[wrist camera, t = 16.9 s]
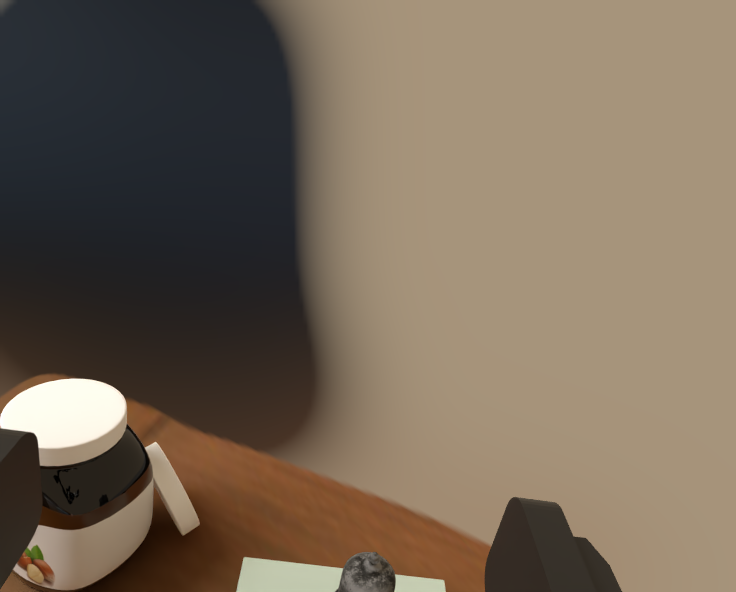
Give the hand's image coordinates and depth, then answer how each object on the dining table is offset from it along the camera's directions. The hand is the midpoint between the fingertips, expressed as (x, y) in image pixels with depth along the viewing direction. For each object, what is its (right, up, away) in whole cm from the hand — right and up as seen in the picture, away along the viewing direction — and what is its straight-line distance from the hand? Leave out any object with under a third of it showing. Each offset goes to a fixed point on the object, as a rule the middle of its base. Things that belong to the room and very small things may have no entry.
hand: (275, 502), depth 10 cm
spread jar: (-17, -14, +31) cm, 38 cm away
